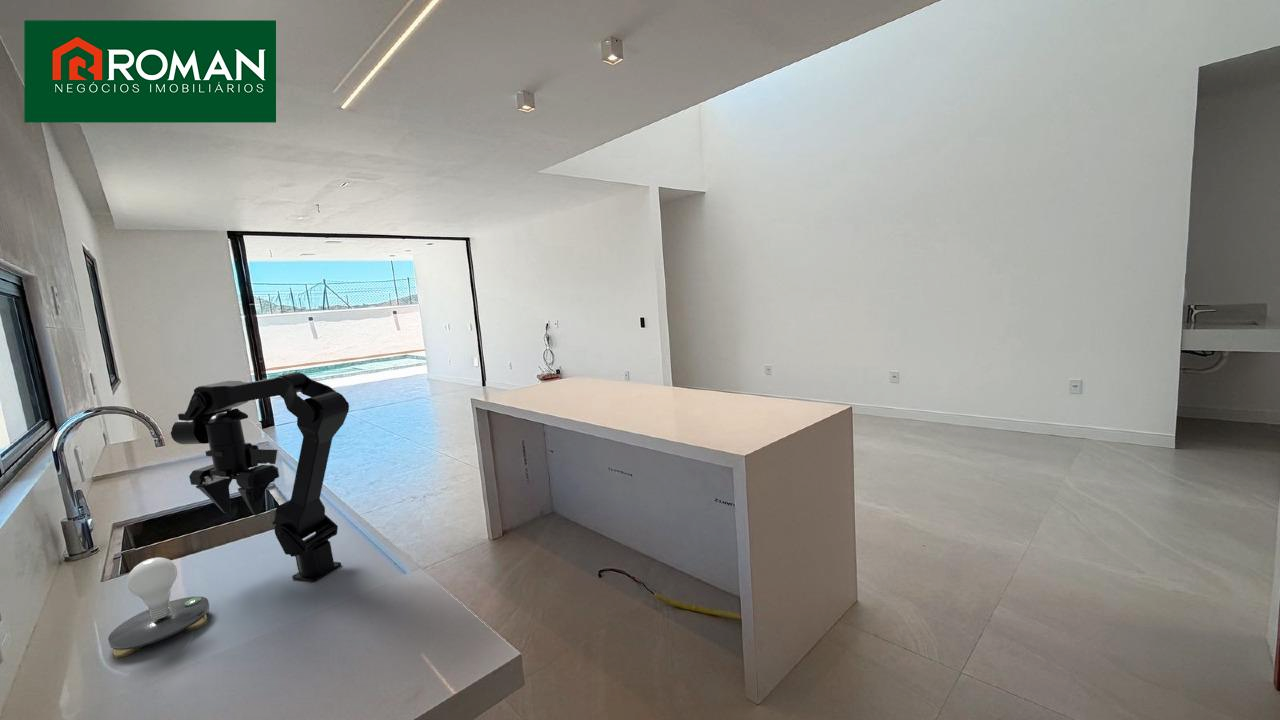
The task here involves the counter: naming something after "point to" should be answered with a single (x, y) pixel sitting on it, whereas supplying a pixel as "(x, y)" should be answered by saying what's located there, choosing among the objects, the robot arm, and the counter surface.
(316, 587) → the counter surface
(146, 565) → the lightbulb
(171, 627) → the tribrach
